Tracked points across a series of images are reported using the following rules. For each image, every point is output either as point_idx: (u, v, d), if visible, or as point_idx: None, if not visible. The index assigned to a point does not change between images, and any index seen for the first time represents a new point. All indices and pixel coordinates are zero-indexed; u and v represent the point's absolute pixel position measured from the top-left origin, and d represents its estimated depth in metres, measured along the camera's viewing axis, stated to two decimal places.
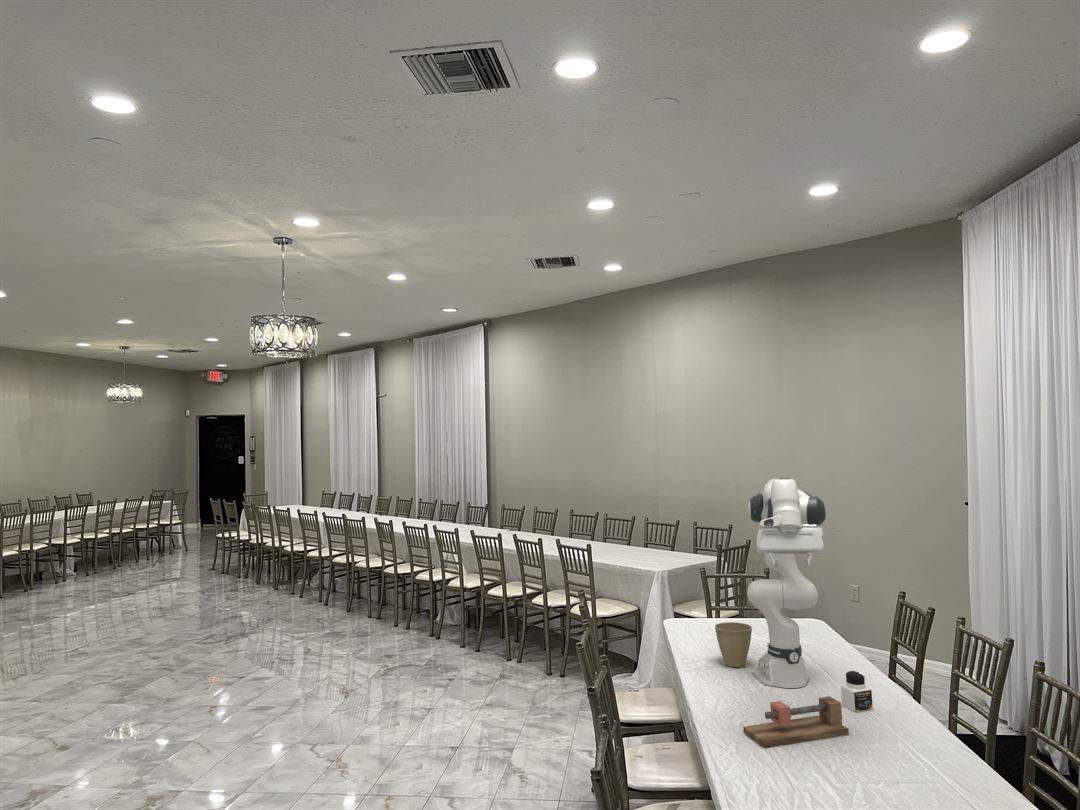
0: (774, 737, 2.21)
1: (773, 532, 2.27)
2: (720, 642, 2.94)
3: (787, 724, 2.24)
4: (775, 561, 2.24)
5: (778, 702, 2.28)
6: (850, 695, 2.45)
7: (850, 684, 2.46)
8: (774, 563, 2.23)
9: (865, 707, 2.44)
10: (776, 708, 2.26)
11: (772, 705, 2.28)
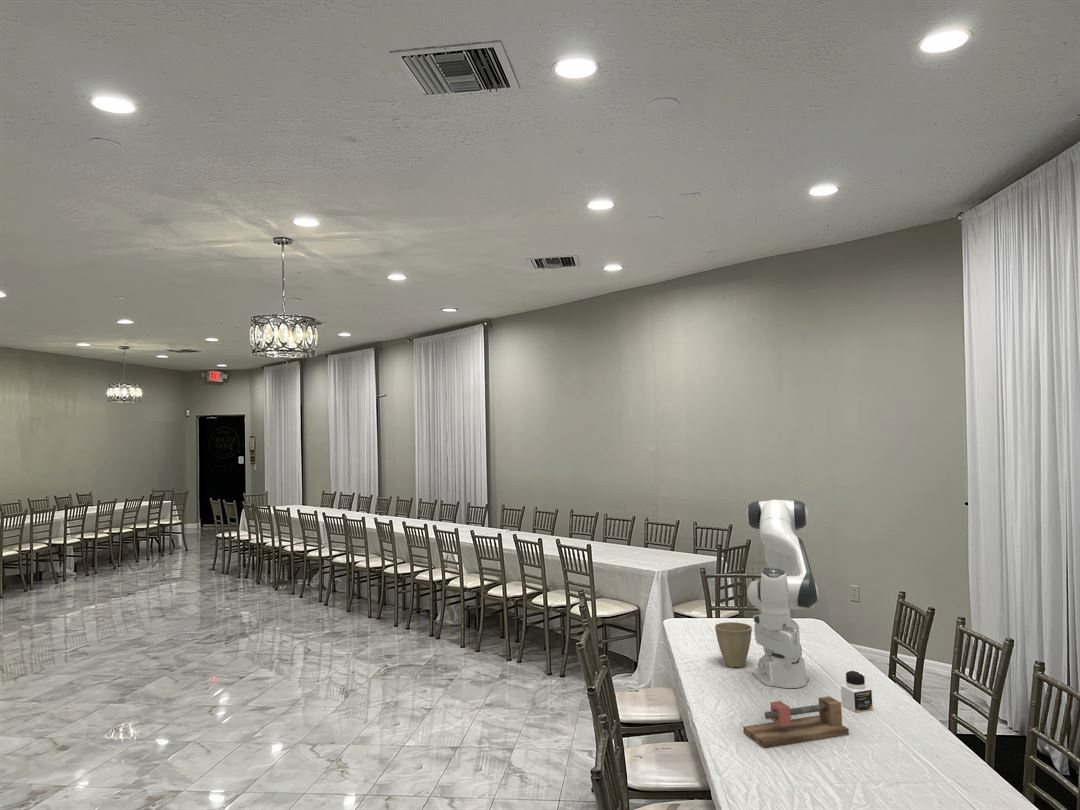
0: (774, 737, 2.21)
1: (763, 629, 2.31)
2: (720, 642, 2.94)
3: (787, 724, 2.24)
4: (767, 657, 2.31)
5: (778, 702, 2.28)
6: (850, 695, 2.45)
7: (850, 684, 2.46)
8: (767, 659, 2.31)
9: (865, 707, 2.44)
10: (776, 708, 2.26)
11: (772, 705, 2.28)
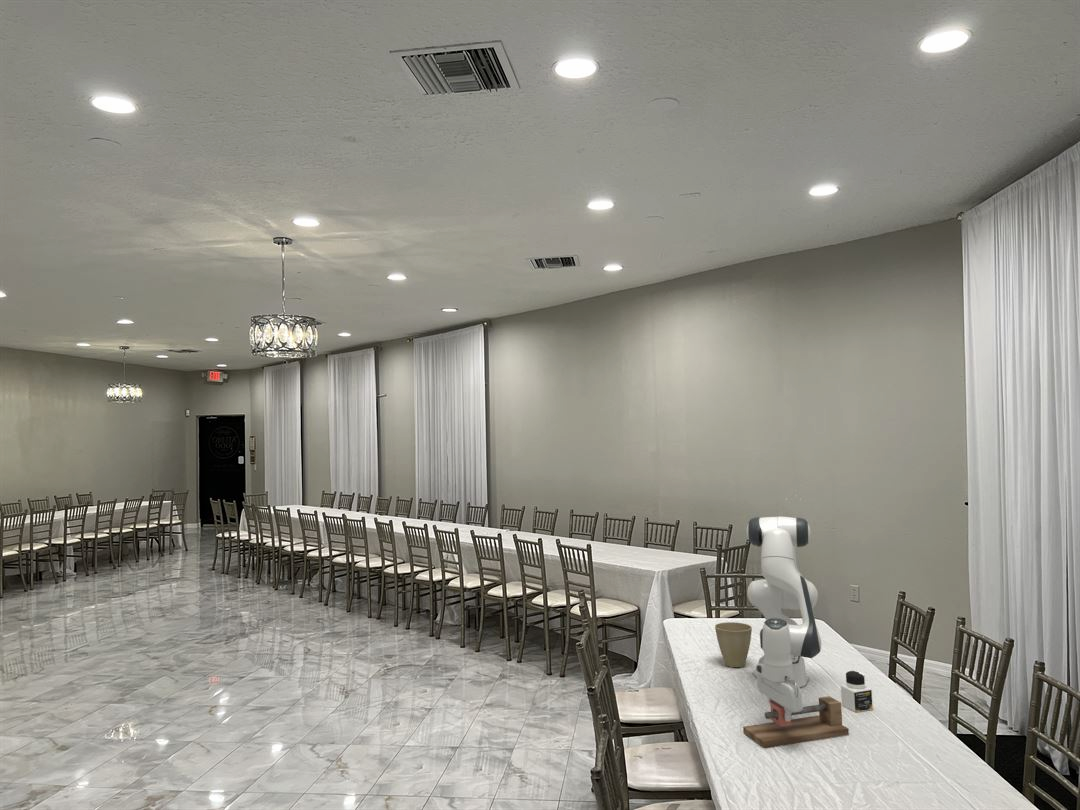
0: (774, 737, 2.21)
1: (765, 678, 2.31)
2: (720, 642, 2.94)
3: (787, 724, 2.24)
4: None
5: None
6: (850, 695, 2.45)
7: (850, 684, 2.46)
8: None
9: (865, 707, 2.44)
10: (776, 708, 2.26)
11: (772, 705, 2.28)
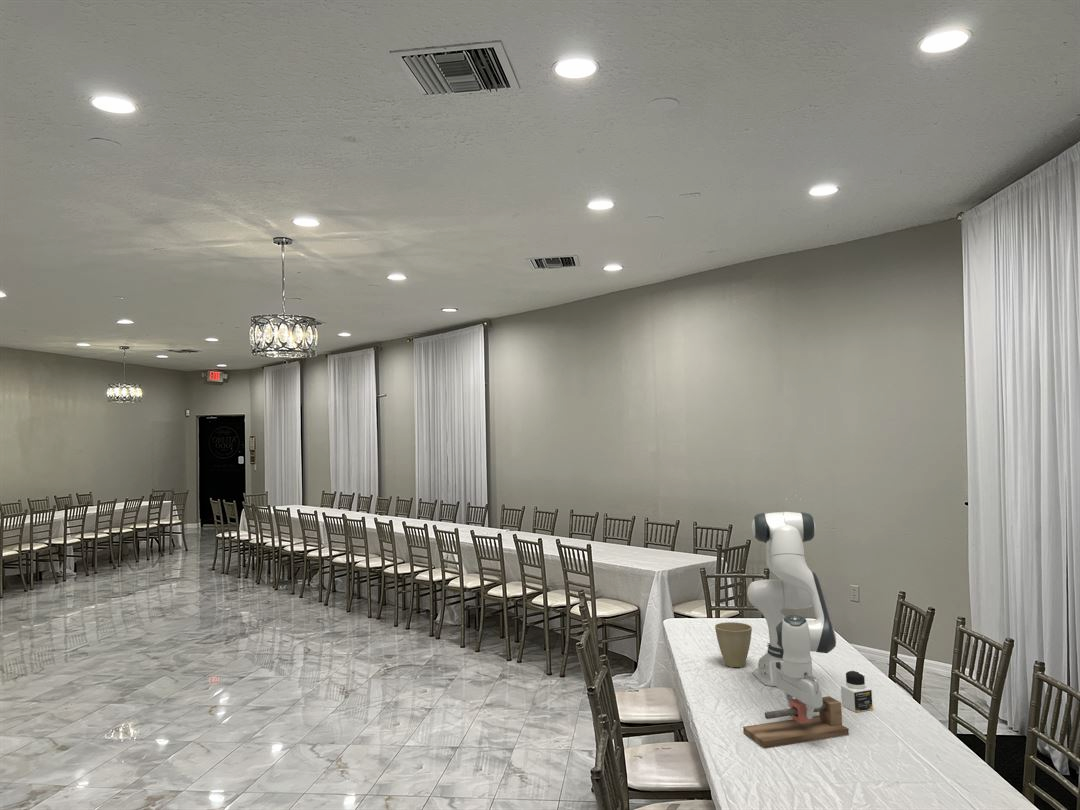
0: (774, 737, 2.21)
1: (784, 675, 2.33)
2: (720, 642, 2.94)
3: (807, 721, 2.26)
4: (788, 703, 2.33)
5: (798, 700, 2.30)
6: (850, 695, 2.45)
7: (850, 684, 2.46)
8: (788, 704, 2.33)
9: (865, 707, 2.44)
10: (795, 705, 2.27)
11: (791, 703, 2.29)
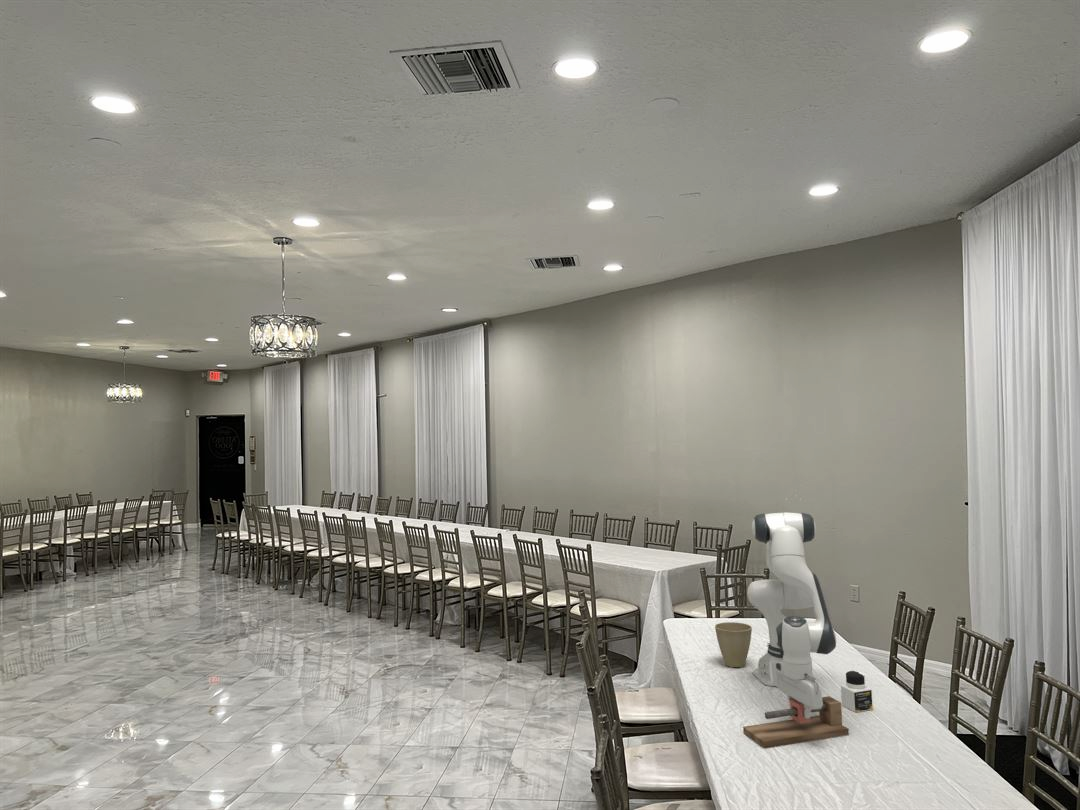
0: (774, 737, 2.21)
1: (784, 676, 2.33)
2: (720, 642, 2.94)
3: (807, 721, 2.26)
4: None
5: None
6: (850, 695, 2.45)
7: (850, 684, 2.46)
8: None
9: (865, 707, 2.44)
10: (795, 705, 2.27)
11: (791, 703, 2.29)
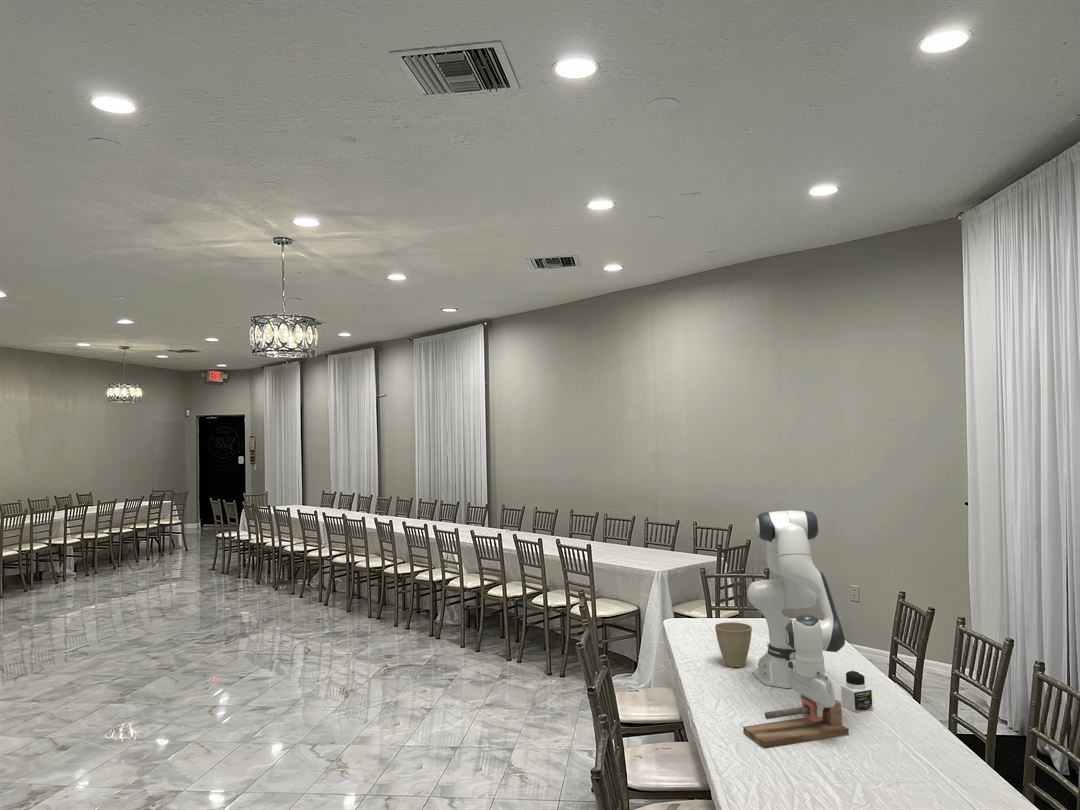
0: (774, 737, 2.21)
1: (796, 674, 2.34)
2: (720, 642, 2.94)
3: (819, 719, 2.27)
4: None
5: None
6: (850, 695, 2.45)
7: (850, 684, 2.46)
8: None
9: (865, 707, 2.44)
10: (808, 703, 2.28)
11: (804, 701, 2.30)
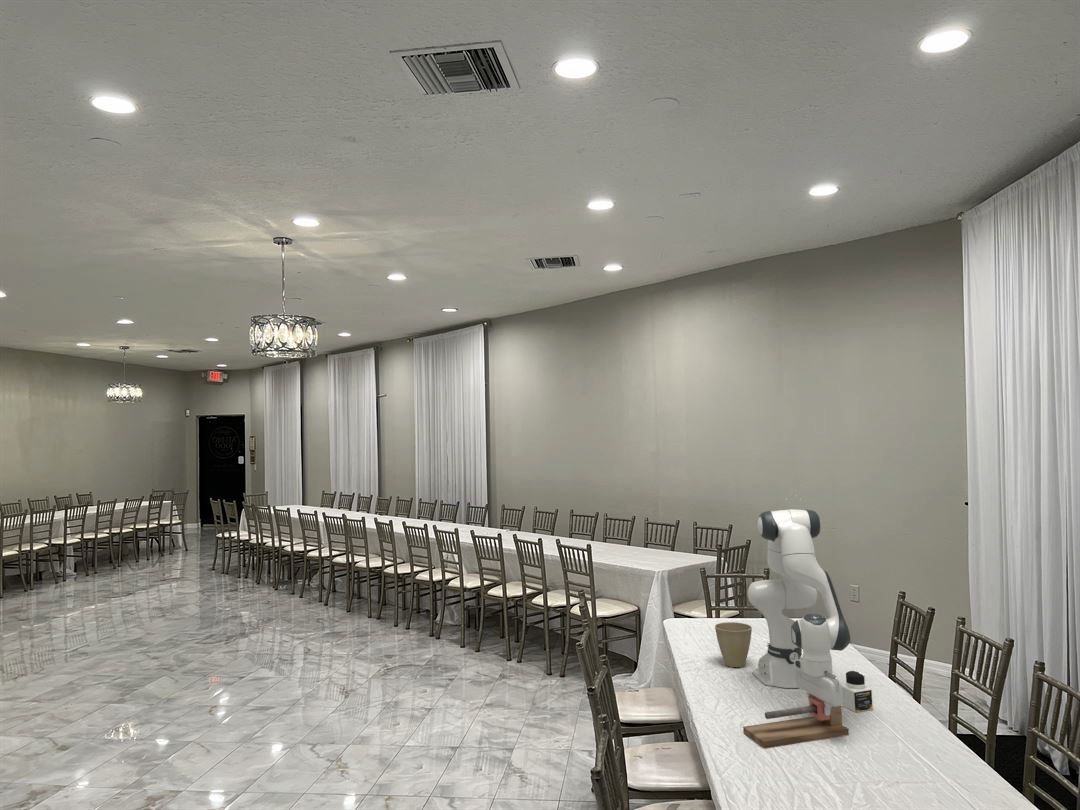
0: (774, 737, 2.21)
1: (804, 673, 2.34)
2: (720, 642, 2.94)
3: (826, 718, 2.27)
4: None
5: None
6: (850, 695, 2.45)
7: (850, 684, 2.46)
8: None
9: (865, 707, 2.44)
10: (815, 702, 2.29)
11: (811, 700, 2.31)
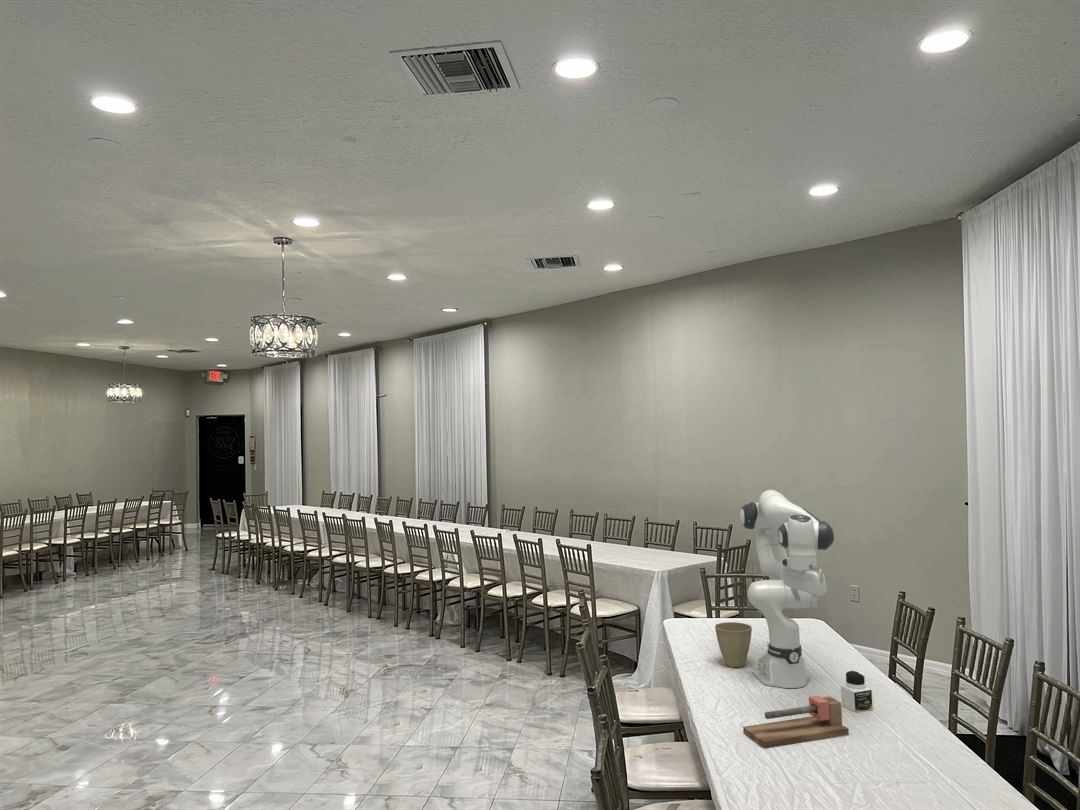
0: (774, 737, 2.21)
1: (790, 571, 2.49)
2: (720, 642, 2.94)
3: (826, 718, 2.27)
4: (794, 597, 2.48)
5: (817, 697, 2.32)
6: (850, 695, 2.45)
7: (850, 684, 2.46)
8: (794, 599, 2.49)
9: (865, 707, 2.44)
10: (815, 702, 2.29)
11: (811, 700, 2.31)
